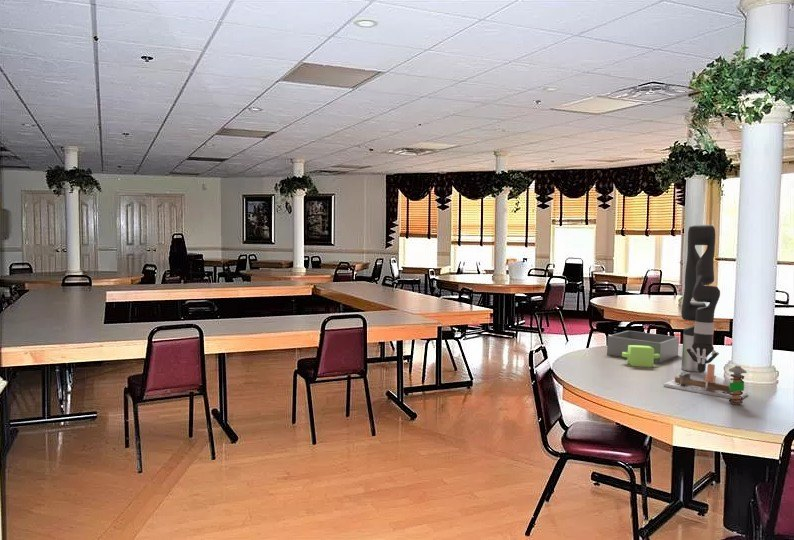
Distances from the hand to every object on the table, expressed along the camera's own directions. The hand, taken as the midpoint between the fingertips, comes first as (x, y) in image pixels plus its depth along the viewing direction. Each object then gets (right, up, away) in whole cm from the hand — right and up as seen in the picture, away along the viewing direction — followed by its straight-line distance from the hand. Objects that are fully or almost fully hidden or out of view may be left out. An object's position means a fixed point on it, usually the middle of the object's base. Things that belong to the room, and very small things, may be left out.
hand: (701, 372), depth 273 cm
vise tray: (+2, -2, +72) cm, 72 cm away
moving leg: (+1, -6, -4) cm, 7 cm away
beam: (+1, -6, -3) cm, 7 cm away
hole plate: (0, -7, -3) cm, 8 cm away
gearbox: (-8, -4, +46) cm, 47 cm away
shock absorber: (+2, -9, -23) cm, 25 cm away
